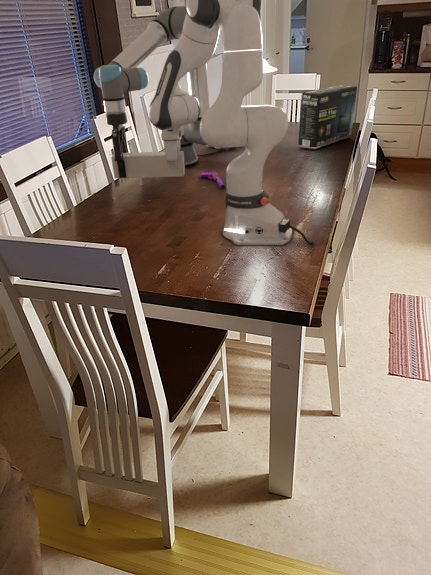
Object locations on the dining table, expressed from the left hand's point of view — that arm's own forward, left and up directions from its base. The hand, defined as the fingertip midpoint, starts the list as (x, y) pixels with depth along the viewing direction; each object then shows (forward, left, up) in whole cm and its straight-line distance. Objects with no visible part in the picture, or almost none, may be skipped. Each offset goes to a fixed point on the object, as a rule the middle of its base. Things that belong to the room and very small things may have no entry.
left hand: (124, 174), depth 179 cm
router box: (-103, +59, -9) cm, 120 cm away
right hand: (-7, +19, +3) cm, 20 cm away
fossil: (-83, +8, -9) cm, 84 cm away
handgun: (-27, +26, -9) cm, 38 cm away
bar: (-4, +9, 0) cm, 10 cm away
